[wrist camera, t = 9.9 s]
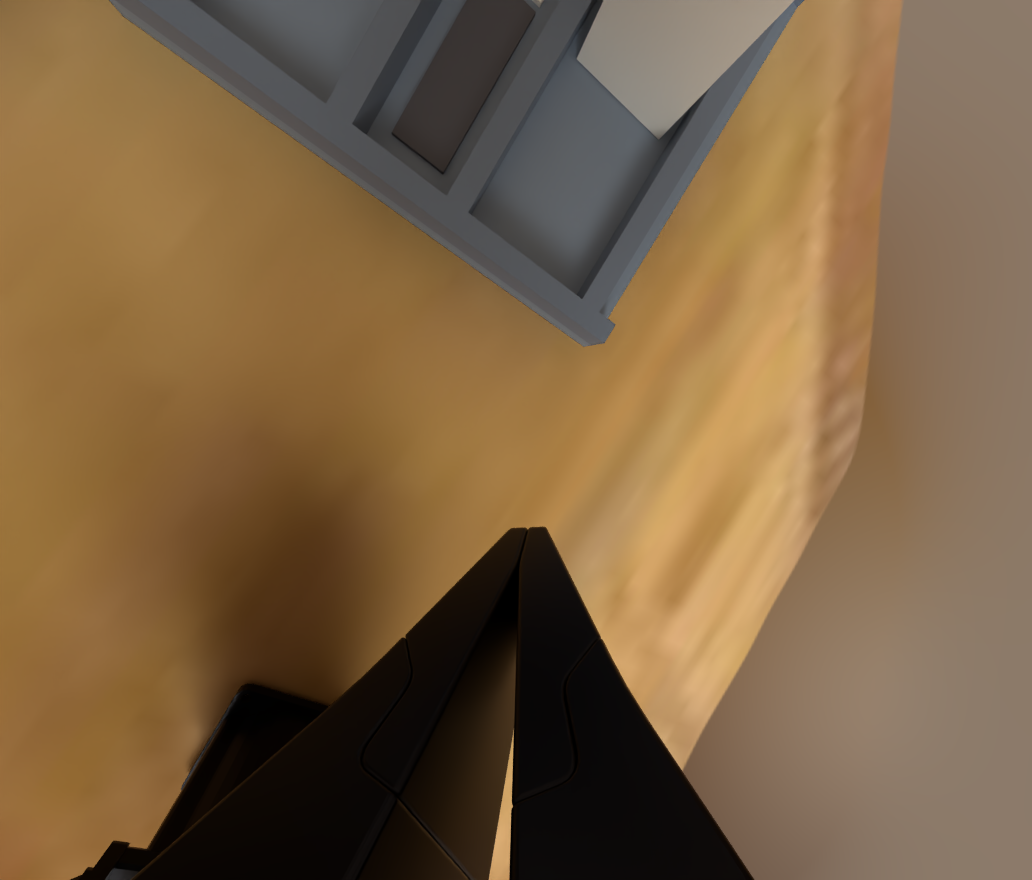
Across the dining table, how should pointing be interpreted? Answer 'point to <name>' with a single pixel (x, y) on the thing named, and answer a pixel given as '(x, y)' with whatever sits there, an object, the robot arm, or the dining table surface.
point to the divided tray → (469, 127)
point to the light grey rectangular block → (670, 50)
